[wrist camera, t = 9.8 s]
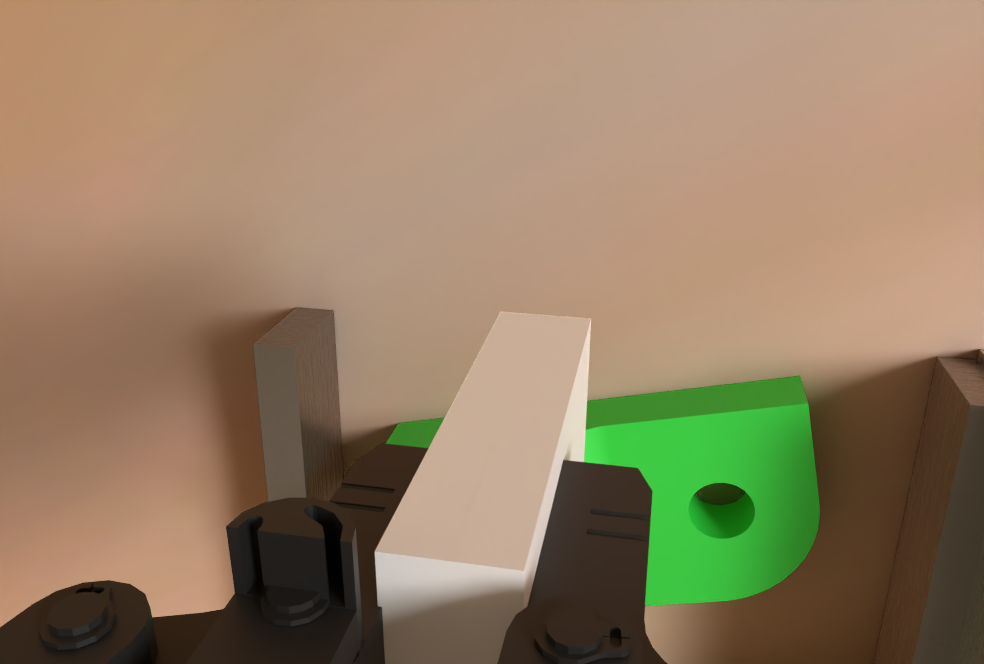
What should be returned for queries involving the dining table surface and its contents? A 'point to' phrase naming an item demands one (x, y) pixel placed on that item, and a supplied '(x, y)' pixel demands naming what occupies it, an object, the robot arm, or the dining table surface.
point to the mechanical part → (708, 482)
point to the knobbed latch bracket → (925, 530)
